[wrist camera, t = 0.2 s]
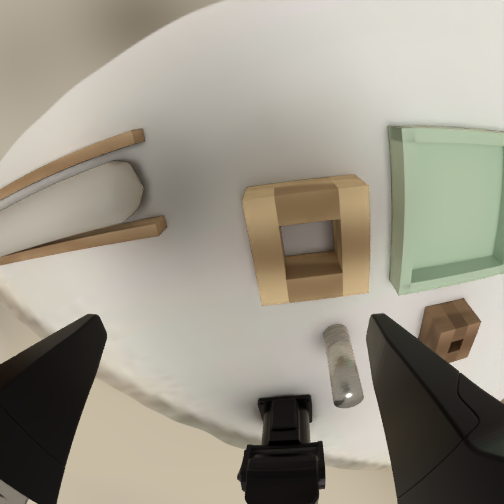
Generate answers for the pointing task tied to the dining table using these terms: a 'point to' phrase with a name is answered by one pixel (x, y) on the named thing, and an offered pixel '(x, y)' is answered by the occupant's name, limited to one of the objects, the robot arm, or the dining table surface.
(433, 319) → the walnut block
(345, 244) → the oak block
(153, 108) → the dining table surface
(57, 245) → the tube rest
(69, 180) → the tube
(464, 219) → the tray
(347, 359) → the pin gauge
